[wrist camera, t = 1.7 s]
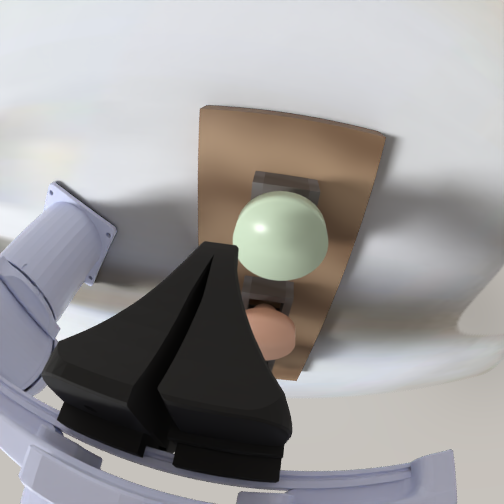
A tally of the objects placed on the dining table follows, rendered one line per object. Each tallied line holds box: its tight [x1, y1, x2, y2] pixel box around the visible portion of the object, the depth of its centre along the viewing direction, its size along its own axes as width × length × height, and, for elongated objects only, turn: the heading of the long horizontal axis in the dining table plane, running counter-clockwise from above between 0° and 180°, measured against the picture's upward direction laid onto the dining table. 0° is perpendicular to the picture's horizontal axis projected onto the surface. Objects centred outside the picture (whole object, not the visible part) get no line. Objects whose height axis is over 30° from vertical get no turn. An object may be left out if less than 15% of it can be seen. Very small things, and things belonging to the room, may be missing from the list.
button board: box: [198, 105, 386, 381], centre depth 23 cm, size 28×11×3 cm, turn 175°
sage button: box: [233, 191, 328, 281], centre depth 16 cm, size 5×5×3 cm
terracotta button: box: [245, 303, 296, 360], centre depth 21 cm, size 5×5×3 cm
